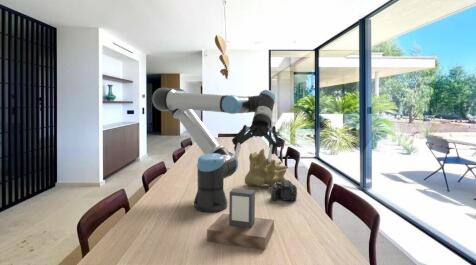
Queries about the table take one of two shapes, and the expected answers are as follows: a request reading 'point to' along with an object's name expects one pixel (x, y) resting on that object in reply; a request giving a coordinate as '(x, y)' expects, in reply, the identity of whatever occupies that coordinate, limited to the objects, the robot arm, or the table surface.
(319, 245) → the table surface
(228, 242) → the display block
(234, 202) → the tall slate rectangular prism
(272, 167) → the decorative coral
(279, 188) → the camera
